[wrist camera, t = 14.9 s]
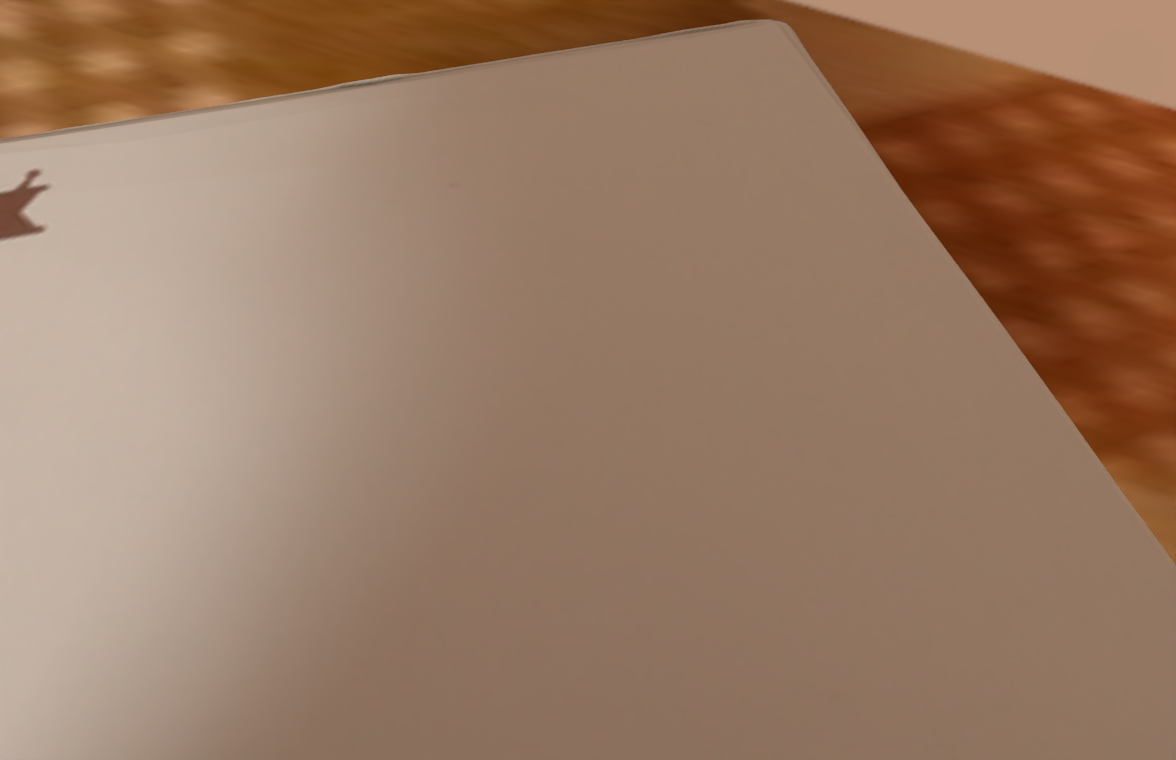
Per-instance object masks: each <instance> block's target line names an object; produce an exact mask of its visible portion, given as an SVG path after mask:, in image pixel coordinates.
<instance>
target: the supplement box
mask: <svg viewBox="0 0 1176 760" xmlns="http://www.w3.org/2000/svg"><path fill="white" fill-rule="evenodd" d="M0 760H1176V564H1175V563H1174V561H1173V560H1172V559H1171V557H1170V556H1169V555H1168V553H1167V552H1166V550H1165V549H1164V548H1163V546H1162V545H1161V544H1160V542H1159V541H1158V540H1157V538H1156V537H1155V536H1154V534H1153V533H1152V532H1151V530H1150V529H1149V527H1148V526H1147V525H1146V523H1145V522H1144V521H1143V519H1142V518H1141V517H1140V515H1139V514H1138V513H1137V511H1136V510H1135V508H1134V507H1133V506H1132V504H1131V503H1130V502H1129V500H1128V499H1127V498H1126V496H1125V495H1124V494H1123V492H1122V491H1121V489H1120V488H1119V487H1118V485H1117V484H1116V482H1115V481H1114V480H1113V478H1112V477H1111V475H1110V474H1109V473H1108V471H1107V470H1106V468H1105V467H1104V466H1103V464H1102V463H1101V461H1100V460H1099V459H1098V457H1097V456H1096V454H1095V453H1094V451H1093V450H1092V449H1091V447H1090V446H1089V444H1088V443H1087V442H1086V440H1085V439H1084V437H1083V436H1082V435H1081V433H1080V432H1079V430H1078V429H1077V428H1076V426H1075V425H1074V423H1073V422H1072V421H1071V419H1070V418H1069V416H1068V415H1067V414H1066V412H1065V411H1064V409H1063V408H1062V407H1061V405H1060V404H1059V403H1058V401H1057V400H1056V398H1055V397H1054V396H1053V394H1052V393H1051V392H1050V390H1049V389H1048V387H1047V386H1046V385H1045V383H1044V382H1043V381H1042V379H1041V378H1040V376H1039V375H1038V374H1037V372H1036V371H1035V369H1034V368H1033V367H1032V365H1031V364H1030V363H1029V361H1028V360H1027V358H1026V357H1025V356H1024V354H1023V353H1022V352H1021V350H1020V349H1019V347H1018V346H1017V345H1016V343H1015V342H1014V341H1013V339H1012V338H1011V336H1010V335H1009V334H1008V332H1007V331H1006V329H1005V328H1004V327H1003V325H1002V324H1001V323H1000V321H999V320H998V319H997V317H996V316H995V314H994V313H993V312H992V310H991V309H990V308H989V306H988V305H987V304H986V302H985V301H984V300H983V298H982V297H981V295H980V294H979V293H978V291H977V290H976V289H975V287H974V286H973V285H972V283H971V282H970V281H969V279H968V278H967V277H966V276H965V274H964V273H963V272H962V270H961V269H960V268H959V266H958V265H957V264H956V262H955V261H954V260H953V258H952V257H951V256H950V254H949V253H948V252H947V250H946V249H945V248H944V246H943V245H942V243H941V242H940V241H939V239H938V238H937V237H936V235H935V234H934V233H933V231H932V230H931V229H930V227H929V226H928V225H927V223H926V222H925V221H924V219H923V218H922V217H921V215H920V214H919V213H918V211H917V210H916V209H915V207H914V206H913V204H912V203H911V202H910V200H909V199H908V198H907V196H906V195H905V194H904V192H903V191H902V189H901V188H900V187H899V185H898V184H897V182H896V181H895V179H894V178H893V176H892V175H891V173H890V172H889V170H888V169H887V167H886V166H885V164H884V163H883V161H882V160H881V158H880V157H879V155H878V154H877V152H876V151H875V149H874V148H873V146H872V145H871V143H870V142H869V140H868V139H867V138H866V136H865V135H864V133H863V132H862V130H861V129H860V127H859V126H858V124H857V123H856V121H855V120H854V118H853V117H852V116H851V114H850V113H849V111H848V110H847V108H846V107H845V105H844V104H843V102H842V101H841V99H840V98H839V97H838V95H837V94H836V92H835V91H834V89H833V88H832V87H831V85H830V84H829V82H828V81H827V79H826V78H825V77H824V75H823V74H822V72H821V71H820V70H819V68H818V67H817V65H816V64H815V62H814V61H813V60H812V58H811V57H810V55H809V54H808V52H807V51H806V49H805V47H804V46H803V44H802V43H801V41H800V40H799V38H798V36H797V35H796V33H795V32H794V31H793V29H792V28H791V27H790V25H788V24H787V23H785V22H781V21H777V20H773V19H765V20H742V21H735V22H730V23H726V24H720V25H713V26H706V27H699V28H693V29H686V30H680V31H675V32H669V33H664V34H659V35H653V36H648V37H643V38H638V39H631V40H624V41H618V42H611V43H605V44H598V45H592V46H585V47H579V48H572V49H566V50H560V51H553V52H547V53H540V54H534V55H528V56H522V57H516V58H510V59H504V60H498V61H492V62H486V63H479V64H473V65H467V66H461V67H454V68H448V69H442V70H435V71H429V72H423V73H413V74H398V75H390V76H384V77H378V78H373V79H367V80H361V81H355V82H349V83H343V84H339V85H334V86H330V87H325V88H321V89H315V90H309V91H303V92H296V93H290V94H284V95H277V96H270V97H263V98H257V99H251V100H246V101H240V102H235V103H229V104H224V105H218V106H212V107H205V108H199V109H192V110H186V111H179V112H173V113H167V114H160V115H154V116H147V117H140V118H133V119H126V120H119V121H112V122H105V123H98V124H91V125H84V126H77V127H70V128H65V129H59V130H53V131H48V132H42V133H37V134H31V135H24V136H17V137H11V138H4V139H0Z"/></svg>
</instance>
